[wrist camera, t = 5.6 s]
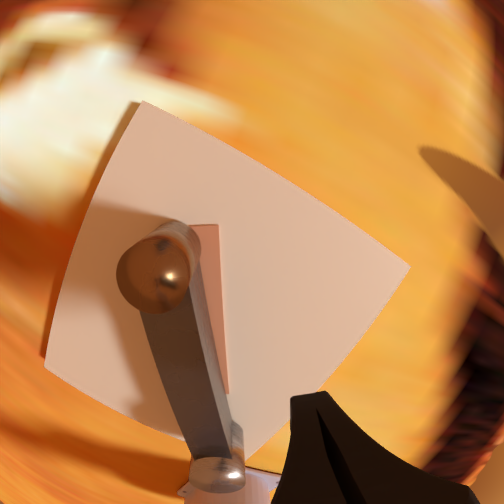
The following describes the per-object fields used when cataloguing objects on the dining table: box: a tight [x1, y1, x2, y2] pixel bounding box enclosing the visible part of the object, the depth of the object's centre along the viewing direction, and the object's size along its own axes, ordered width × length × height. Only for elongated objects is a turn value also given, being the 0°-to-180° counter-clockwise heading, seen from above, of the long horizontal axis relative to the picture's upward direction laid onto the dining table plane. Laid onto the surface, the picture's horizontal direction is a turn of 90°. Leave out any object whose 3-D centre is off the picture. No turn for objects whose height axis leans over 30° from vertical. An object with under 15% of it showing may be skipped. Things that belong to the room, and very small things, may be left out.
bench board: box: [44, 101, 411, 461], centre depth 17 cm, size 20×18×1 cm
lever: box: [116, 221, 246, 494], centre depth 15 cm, size 17×4×5 cm, turn 6°
